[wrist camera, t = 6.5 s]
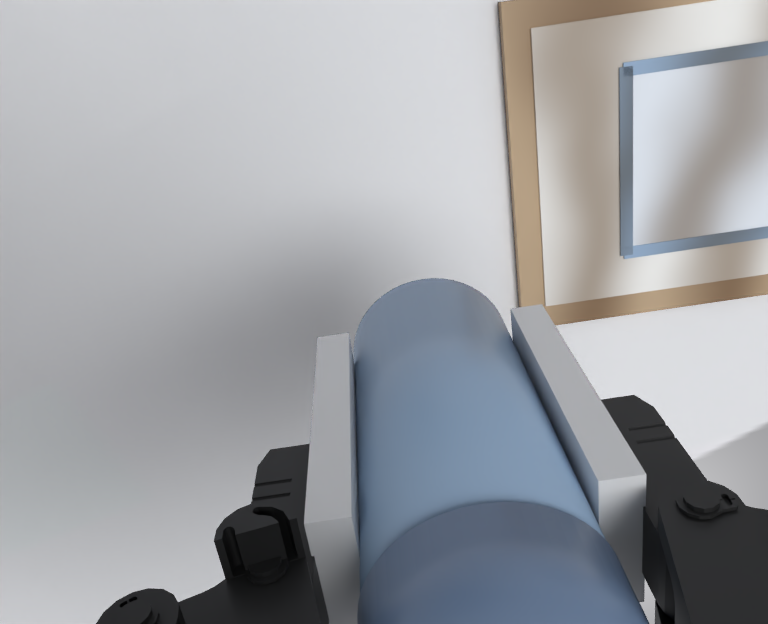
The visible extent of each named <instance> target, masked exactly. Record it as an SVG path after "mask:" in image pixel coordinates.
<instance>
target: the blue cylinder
mask: <svg viewBox="0 0 768 624" xmlns="http://www.w3.org/2000/svg"><path fill="white" fill-rule="evenodd" d="M354 365H355V399H356V434H357V469H358V504H359V539H360V570H359V573H360V597H359V601H358V613H357V624H649V622H648V620H647V618H646V616H645V614H644V611H643V609H642V607H641V605H640V603H639V601H638V599H637V597H636V594H635V592H634V590H633V588H632V586H631V584H630V582H629V580H628V578H627V576H626V573H625V571H624V569H623V567H622V565H621V563H620V561H619V559H618V557H617V555H616V553H615V551H614V550H613V548H612V547H611V546H610V544H609V543H608V542H607V541H606V539H605V537H604V535H603V532H602V530H601V528H600V526H599V524H598V522H597V520H596V518H595V515H594V513H593V511H592V509H591V507H590V505H589V503H588V500H587V498H586V496H585V494H584V492H583V490H582V488H581V486H580V483H579V481H578V479H577V477H576V475H575V473H574V471H573V468H572V466H571V464H570V462H569V460H568V458H567V456H566V454H565V451H564V449H563V447H562V445H561V443H560V441H559V439H558V436H557V434H556V432H555V430H554V428H553V426H552V424H551V422H550V419H549V417H548V415H547V413H546V411H545V409H544V407H543V405H542V402H541V400H540V398H539V396H538V394H537V392H536V390H535V387H534V385H533V383H532V381H531V379H530V377H529V375H528V373H527V370H526V368H525V366H524V364H523V362H522V360H521V358H520V355H519V353H518V351H517V349H516V347H515V345H514V343H513V341H512V338H511V336H510V334H509V332H508V330H507V328H506V326H505V323H504V321H503V319H502V317H501V315H500V313H499V312H498V310H497V309H496V307H495V306H494V305H493V303H492V302H491V301H490V300H489V299H488V298H487V297H486V296H484V295H483V294H482V293H481V292H479V291H477V290H476V289H474V288H473V287H470V286H468V285H466V284H464V283H460V282H457V281H454V280H448V279H436V278H431V279H421V280H416V281H412V282H409V283H406V284H403V285H400V286H398V287H396V288H394V289H392V290H391V291H389V292H387V293H386V294H384V295H383V296H382V297H381V298H379V299H378V300H377V301H376V302H375V303H374V304H373V305H372V306H371V307H370V308H369V310H368V311H367V312H366V314H365V315H364V317H363V318H362V320H361V322H360V324H359V327H358V329H357V332H356V336H355V341H354Z"/></svg>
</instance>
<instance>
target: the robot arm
mask: <svg viewBox="0 0 768 624" xmlns="http://www.w3.org/2000/svg"><path fill="white" fill-rule="evenodd" d="M511 322H512V336H513V343H514V345H515V347H516V349H517V351H518V353H519V355H520V358H521V360H522V362H523V364H524V366H525V368H526V370H527V373H528V375H529V377H530V379H531V381H532V383H533V385H534V387H535V390H536V392H537V394H538V396H539V398H540V400H541V402H542V405H543V407H544V409H545V411H546V413H547V415H548V417H549V419H550V422H551V424H552V426H553V428H554V430H555V432H556V434H557V436H558V439H559V441H560V443H561V445H562V447H563V449H564V451H565V454H566V456H567V458H568V460H569V462H570V464H571V466H572V468H573V471H574V473H575V475H576V477H577V479H578V481H579V483H580V486H581V488H582V490H583V492H584V494H585V496H586V498H587V500H588V503H589V505H590V507H591V509H592V511H593V513H594V515H595V518H596V520H597V522H598V524H599V526H600V528H601V530H602V532H603V535H604V537H605V539H606V541H607V542H608V543H609V544H610V546H611V547H612V548H613V550H614V551H615V553H616V555H617V557H618V559H619V561H620V563H621V565H622V567H623V569H624V571H625V573H626V576H627V578H628V580H629V582H630V584H631V586H632V588H633V590H634V592H635V594H636V597H637V599H638V601H639V602H644V580H645V579H646V581H647V583H648V585H649V587H650V589H651V591H652V593H653V595H654V597H655V599H656V601H655V624H768V510H765V509H758V508H752V507H748V506H745V504H744V503H743V502H742V500H741V499H740V498H739V497H738V495H737V494H735V493H734V492H732V491H731V490H729V489H728V488H726V487H725V486H722V485H719V484H716V483H713V482H710V481H707V479H706V478H705V477H704V475H703V474H702V473H701V471H700V470H699V469H698V467H697V466H696V464H695V463H694V462H693V460H692V459H691V457H690V456H689V455H688V453H687V452H686V451H685V449H684V448H683V446H682V445H681V444H680V442H679V441H678V440H677V438H675V437H674V434H673V433H672V431H671V430H670V429H669V427H668V426H666V425H665V422H664V420H663V419H662V418H661V416H660V415H659V414H658V412H657V411H656V409H655V408H654V407H653V406H651V405H650V404H648V403H646V402H645V401H643V400H641V399H640V398H638V397H636V396H635V395H631V396H624V397H617V398H610V399H603V400H601V399H600V398H599V396H598V395H597V393H596V391H595V390H594V388H593V386H592V385H591V383H590V382H589V380H588V378H587V377H586V375H585V373H584V372H583V370H582V368H581V367H580V365H579V364H578V362H577V360H576V359H575V357H574V355H573V354H572V352H571V351H570V349H569V347H568V346H567V344H566V342H565V341H564V339H563V338H562V336H561V334H560V333H559V331H558V329H557V328H556V326H555V324H554V323H553V321H552V320H551V318H550V316H549V315H548V313H547V311H546V310H545V308H544V307H543V305H542V304H539V305H532V306H526V307H519V308H512V309H511ZM252 500H253V501H252V502H251V504H250V505H247V506H245V507H242V508H240V509H237V510H236V511H235V512H233V513H232V514H230V515H229V516H228V517H226V518H225V519H224V520H223V522H222V523H221V524H220V526H219V527H218V528H217V530H216V534H215V539H214V542H215V545H216V549H217V552H218V555H219V558H220V562H221V565H222V568H223V571H224V575H225V578H226V579H225V580H223V581H222V582H221V583H219V584H218V585H216V586H215V587H213V588H211V589H209V590H207V591H205V592H203V593H200V594H198V595H195V596H193V597H190V598H188V599H185V600H183V601H181V602H177V600H176V598H175V596H174V595H173V594H171V593H169V592H167V591H165V590H164V589H149V588H148V589H144V590H141V591H137V592H133V593H131V594H129V595H127V596H125V597H123V598H121V599H119V600H118V601H116V602H115V603H114V604H113V605H112V606H110V607H109V608H108V609H107V610H106V611H105V612H104V613H103V614H102V616H101V617H100V619H99V620H98V622H97V623H96V624H357V613H358V601H359V597H360V573H359V570H360V539H359V504H358V469H357V434H356V399H355V365H354V359H353V354H352V348H351V343H350V337H349V333H342V334H335V335H329V336H322V337H317V351H316V364H315V378H314V392H313V405H312V419H311V433H310V444H306V445H299V446H292V447H285V448H278V449H271V450H270V451H269V452H268V453H267V455H266V456H265V457H264V459H263V460H262V461H261V463H260V464H259V465H258V468H257V474H256V479H255V487H254V490H253V496H252Z"/></svg>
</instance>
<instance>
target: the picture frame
mask: <svg viewBox="0 0 768 624" xmlns="http://www.w3.org/2000/svg"><path fill="white" fill-rule="evenodd" d="M498 7H499V21H500V36H501V50H502V65H503V79H504V94H505V108H506V123H507V137H508V152H509V166H510V181H511V195H512V210H513V224H514V239H515V253H516V267H517V282H518V296H519V307H526V306H532V305H539V304H542V305H543V307H544V308H545V310H546V311H547V313H548V315H549V316H550V318H551V320H552V321H553V323H554V324H555V325H561V324H568V323H574V322H581V321H588V320H595V319H602V318H609V317H616V316H622V315H629V314H636V313H643V312H650V311H657V310H664V309H670V308H677V307H684V306H691V305H698V304H705V303H712V302H719V301H725V300H732V299H739V298H746V297H753V296H760V295H767V294H768V0H510V1H504V2H498Z"/></svg>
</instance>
